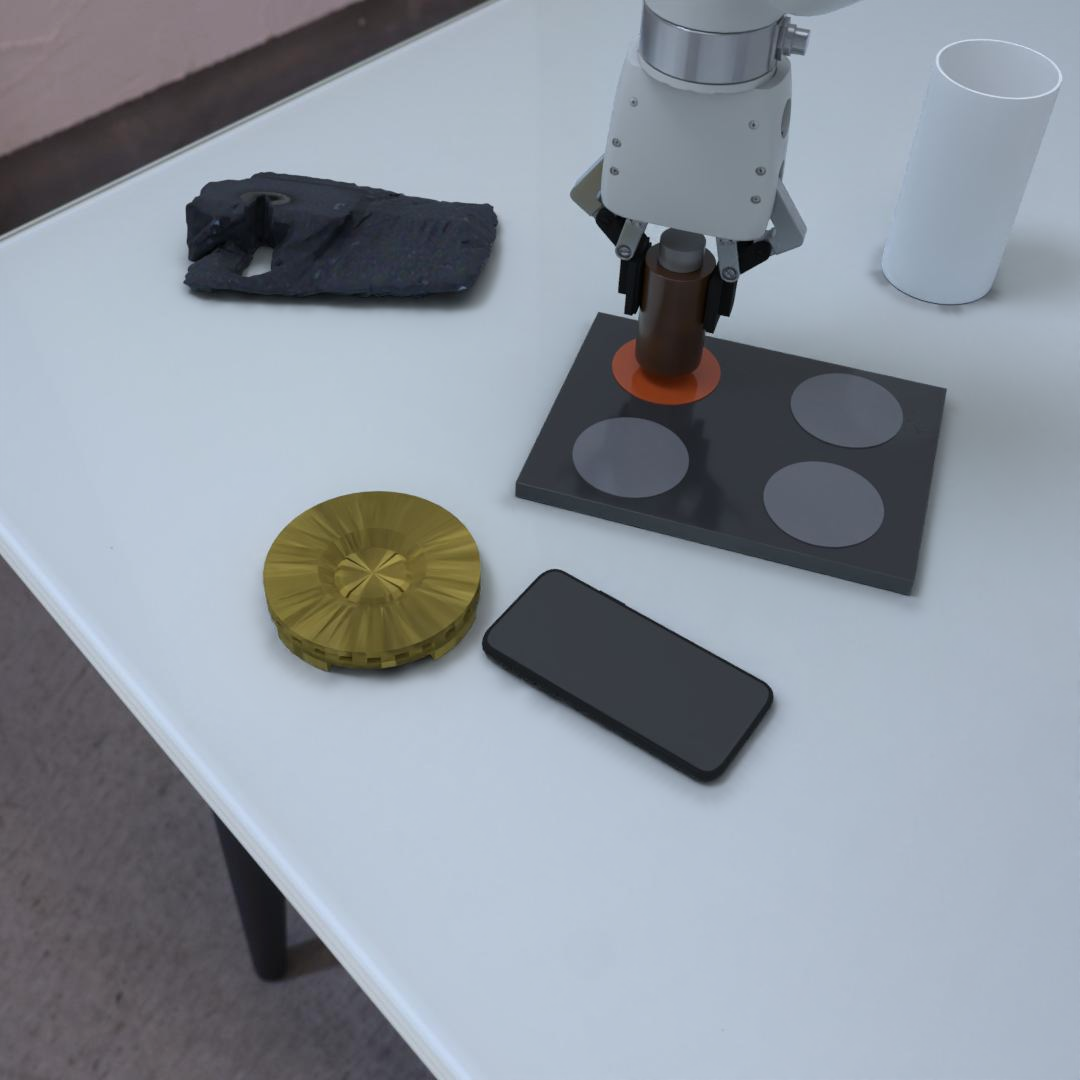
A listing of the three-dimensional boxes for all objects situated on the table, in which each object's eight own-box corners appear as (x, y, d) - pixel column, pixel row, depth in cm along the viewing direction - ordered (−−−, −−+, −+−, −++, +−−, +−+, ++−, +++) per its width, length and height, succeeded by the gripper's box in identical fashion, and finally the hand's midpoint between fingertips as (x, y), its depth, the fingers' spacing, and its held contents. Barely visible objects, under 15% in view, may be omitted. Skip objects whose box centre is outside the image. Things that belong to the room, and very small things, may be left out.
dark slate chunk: (472, 332, 91) (472, 275, 87) (165, 296, 93) (153, 238, 89) (508, 210, 101) (509, 155, 98) (232, 180, 103) (223, 124, 99)
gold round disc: (493, 665, 71) (493, 640, 69) (269, 688, 70) (264, 663, 68) (467, 508, 79) (467, 482, 78) (266, 526, 78) (261, 500, 76)
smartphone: (714, 784, 65) (472, 641, 71) (711, 794, 66) (472, 652, 71) (783, 687, 70) (550, 560, 75) (779, 698, 70) (549, 571, 76)
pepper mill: (708, 343, 87) (726, 227, 80) (692, 383, 84) (710, 266, 77) (644, 328, 88) (657, 212, 81) (626, 368, 85) (638, 251, 78)
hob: (942, 402, 87) (947, 387, 86) (909, 595, 75) (915, 580, 74) (597, 325, 92) (598, 310, 91) (514, 496, 80) (515, 481, 79)
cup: (879, 234, 101) (931, 33, 89) (987, 245, 100) (1054, 44, 88) (883, 297, 95) (939, 92, 83) (998, 310, 94) (1071, 105, 83)
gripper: (877, 31, 71) (815, 306, 84) (579, -20, 74) (564, 252, 87) (857, 96, 66) (794, 377, 79) (538, 38, 69) (529, 317, 82)
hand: (674, 309), depth 83 cm, fingers closed on pepper mill, 4 cm apart
